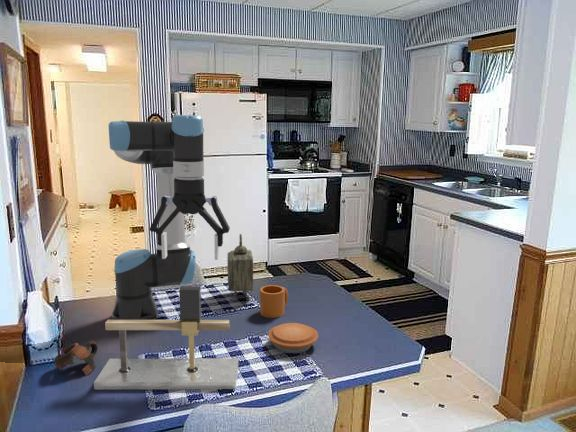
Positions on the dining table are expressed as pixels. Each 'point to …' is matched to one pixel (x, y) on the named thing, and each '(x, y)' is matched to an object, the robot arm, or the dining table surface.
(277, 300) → the mug
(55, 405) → the dining table surface
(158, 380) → the hole plate
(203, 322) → the bar
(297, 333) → the pie
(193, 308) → the block
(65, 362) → the broken clay pot
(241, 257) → the tabletop clock
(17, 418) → the dining table surface
